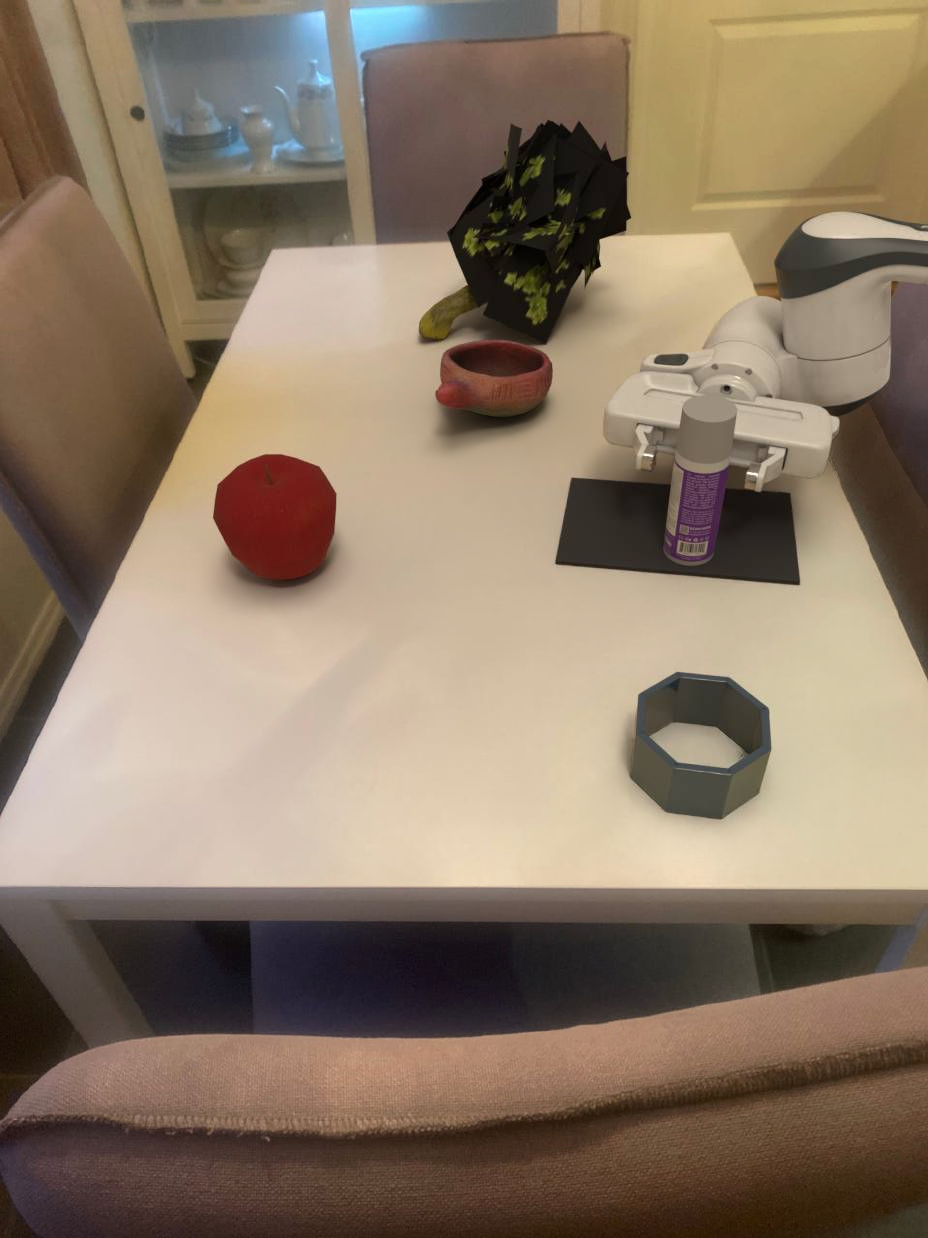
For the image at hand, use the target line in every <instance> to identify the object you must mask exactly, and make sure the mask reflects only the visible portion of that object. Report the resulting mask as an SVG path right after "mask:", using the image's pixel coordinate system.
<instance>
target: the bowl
mask: <svg viewBox="0 0 928 1238" xmlns="http://www.w3.org/2000/svg"><path fill="white" fill-rule="evenodd" d="M439 367H440V368H439V376H440V377H439V378H440V382H441V384H440V385H439V386H438V388H437V389H436V390H435V393H434V395H435V399H436V401H437V403H439V404H440V405H442V406H443V407H446V408H450V409H454V410H465V411H470V412H472V413H475V414H479V415H483V416H488V417H500V418H501V417H502V418H506V417H515V416H519V415H522V414H525V413H528V412H530V411H532V410H533V409H535V408H536V407H537V406H538V405H539V404H541V403H542V402H543V400H544V399H545V398H546V397H547V395H548V394H549V392H550V388H551V386H552V383H553V377H554V376H553V372H554V368H553V362H552V361H551V360H550V357H549V356H548V354H547V353H546V352H544V351H542V350H540V349H538V348H535V347H533V346H530V345H527V344H524V343H520V342H516V341H512V340H507V339H506V340H505V339H481V340H474V341H468V342H464V343H460V344H457V345H454V346H452V347H450V348H448V349H446V350H445V351H444V352H443V353H442V356H441V358H440V366H439Z"/></svg>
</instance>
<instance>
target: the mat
mask: <svg viewBox="0 0 928 1238" xmlns="http://www.w3.org/2000/svg"><path fill="white" fill-rule="evenodd" d="M568 489H569V490H568V494H567V500H566V504H565V509H564V514H563V515H564V516H563V521H562V526H561V531H560V536H559V540H558V546H557V551H556V557H555V565H561V566H562V565H563V566H573V567H575V566H576V567H587V568H598V569H608V570H609V569H611V570H622V571H634V572H644V573H654V574H655V573H657V574H668V575H678V576H679V575H680V576H689V577H690V576H691V577H703V578H714V579H726V580H739V581H750V582H762V583H773V584H783V585H784V584H785V585H796V586H797V585H798V586H800V584H801V577H800V576H801V575H800V567H799V559H798V551H797V550H798V549H797V541H796V540H797V539H796V531H795V523H794V522H795V521H794V514H793V504H792V503H793V502H792V496H791V495H792V494H791V492H788V491H774V490H773V491H770V490H761V492H756V491H752V490H747V489H744V488H743V489H742V488H731V487H729V488H728V487H726V488H725V493H724V499H723V505H722V510H721V516H720V522H719V527H718V533H717V539H716V544H715V550H714V554H713V557H712V558H711V560H709V561H708V562H706V563H704V564H701V565H697V566H686V565H681V564H678V563H675V562H673V561H671V560H670V559H669V558H668V557H667V556H666V555H665V553H664V550H663V547H664V538H665V530H666V522H667V514H668V506H669V498H670V490H671V483H659V482H658V483H656V482H643V481H628V480H615V479H614V480H613V479H601V478H600V479H599V478H585V477H571V478H570V484H569V488H568Z"/></svg>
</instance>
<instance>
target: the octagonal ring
mask: <svg viewBox="0 0 928 1238" xmlns="http://www.w3.org/2000/svg"><path fill="white" fill-rule="evenodd" d="M634 718H635V721H634V728H633V735H632V749H631V761H630V763H631V764H630V773H629V777H630V778H631V780H632V781H634V782H635V784H637V786H639V787H640V788H641V789H642V790H643V791H644V792H645V793H646V794H647V795H648V796H649V797H650V798H651V799H652V800H653V801H654V802H655V803H656V804H657V805H658V806H659V807H660V808H662V810H663V811H664V812H666V813H672V814H679V815H680V814H681V815H688V816H695V817H702V818H710V819H718V820H722V819H724V818H725V817H726V816H728V815H729V814H731V813H732V812H734V811H735V810H737V809H739V808H740V807H741V806H743V805H744V804H745V803H747V802H749V801H750V800H751V799H753V798H754V797H756V796H757V795H759V794H760V791H761V788H762V784H763V781H764V777H765V774H766V770H767V767H768V763H769V760H770V756H771V753H772V750H773V749H772V735H771V734H772V733H771V719H770V718H771V717H770V708H769V707H768V705H766V704H765V703H763V702H762V701H760V700H759V699H758V698H757V697H755V696H754V695H753V694H752V693H750V692H749V691H748V690H747V689H745V688H744V687H743V686H742V685H740V684H739V683H738V682H736V681H735V680H734V679H733V678H732V677H730V676H723V675H713V674H711V675H710V674H704V673H695V672H694V673H693V672H684V671H675V672H674V673H672V674H670V675H669V676H667V677H665V678H664V679H662V680H660V681H658V682H657V683H655V684H653V685H651V686H650V687H648V688H646V689H644V690H643V691H641V692H639V693H638V694H637V703H636V711H635V717H634ZM673 722H675V723H681V724H682V723H683V724H691V725H692V724H693V725H701V726H710V727H717V728H718V729H719V730H720V731H721V732H723V733H724V734H725V735H726V736H727V737H729V738H730V739H731V740H732V741H733V742H735V743H736V744H737V745H738V746H739V747H741V748H742V749H743V750H744V751H746V753H748V754H747V755H746V756H744V757H743V758H742V759H740V760H739V761H737V762H735V763H734V764H732V765H731V766H729V767H728V768H727V767H720V766H712V765H703V764H695V763H694V764H693V763H686V762H678V761H677V760H676V759H675V758H673V757H672V756H671V755H670V754H669V752H667V751H666V750H665V749H663V747H661V746H660V745H659V744H658V743H657V742H656V741H655V740H654V739H653V738H652V737H651V736H652V735H653V734H655V733H657V732H658V731H660V730H661V729H663V728H665V727H667V726H668V725H669V724H671V723H673Z"/></svg>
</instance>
